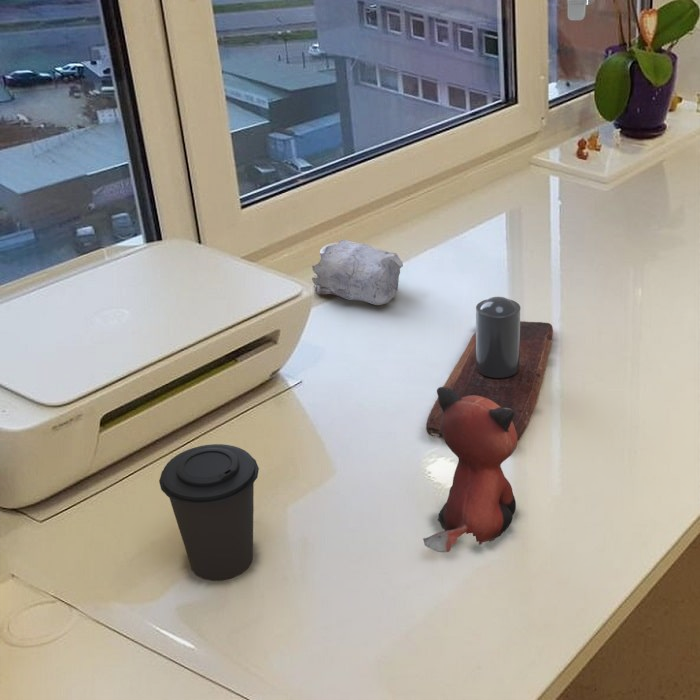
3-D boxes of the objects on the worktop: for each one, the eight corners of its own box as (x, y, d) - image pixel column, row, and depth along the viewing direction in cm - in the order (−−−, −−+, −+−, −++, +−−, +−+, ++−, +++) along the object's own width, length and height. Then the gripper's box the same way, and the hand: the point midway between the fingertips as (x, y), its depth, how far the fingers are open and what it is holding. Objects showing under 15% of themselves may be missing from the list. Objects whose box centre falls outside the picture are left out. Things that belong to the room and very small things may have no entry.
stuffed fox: (395, 552, 90) (389, 433, 85) (453, 483, 99) (452, 370, 93) (476, 579, 87) (476, 456, 81) (530, 505, 95) (533, 389, 89)
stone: (387, 315, 130) (385, 263, 127) (304, 299, 136) (300, 249, 132) (416, 290, 136) (415, 240, 133) (336, 276, 142) (332, 227, 138)
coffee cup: (255, 595, 87) (242, 494, 82) (160, 588, 88) (142, 489, 83) (278, 533, 94) (268, 437, 89) (190, 527, 95) (175, 432, 90)
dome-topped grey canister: (515, 356, 116) (516, 287, 112) (523, 376, 112) (524, 306, 108) (473, 358, 116) (472, 290, 112) (479, 379, 112) (479, 309, 108)
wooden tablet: (481, 310, 127) (565, 309, 123) (483, 326, 128) (567, 326, 124) (418, 428, 105) (518, 431, 101) (421, 447, 106) (520, 451, 102)
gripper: (606, -117, 104) (601, 29, 110) (623, -131, 121) (618, -5, 128) (541, -113, 106) (539, 29, 112) (567, -128, 123) (564, -4, 129)
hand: (581, 11), depth 120 cm, fingers open, 8 cm apart
